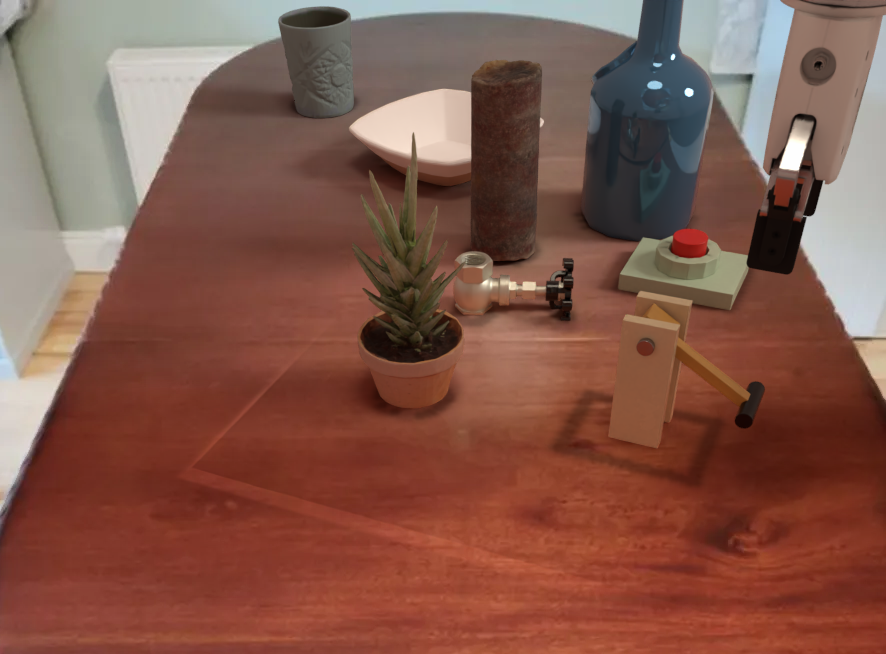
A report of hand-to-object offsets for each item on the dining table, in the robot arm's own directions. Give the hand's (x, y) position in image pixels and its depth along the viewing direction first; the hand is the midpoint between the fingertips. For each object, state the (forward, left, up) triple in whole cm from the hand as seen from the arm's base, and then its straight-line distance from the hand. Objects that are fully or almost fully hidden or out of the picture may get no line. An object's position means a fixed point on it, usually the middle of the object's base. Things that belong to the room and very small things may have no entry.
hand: (781, 239), depth 74 cm
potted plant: (+26, +13, -20) cm, 35 cm away
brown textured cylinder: (+39, -14, -20) cm, 46 cm away
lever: (+4, +3, -12) cm, 13 cm away
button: (+20, -22, -16) cm, 34 cm away
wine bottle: (+33, -31, -20) cm, 49 cm away
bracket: (+7, +4, -19) cm, 21 cm away
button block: (+20, -22, -19) cm, 35 cm away
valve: (+29, -4, -20) cm, 35 cm away
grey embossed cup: (+89, -31, -20) cm, 96 cm away
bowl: (+61, -28, -20) cm, 70 cm away
